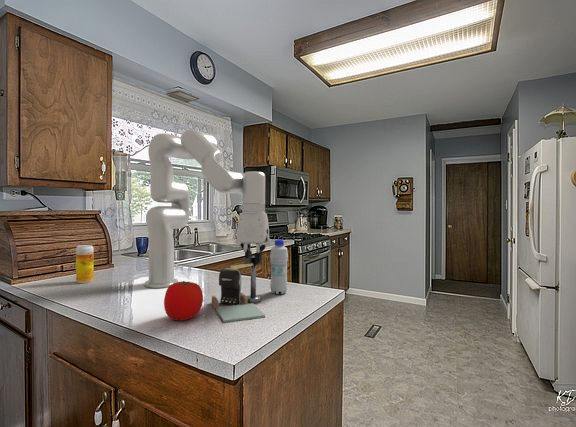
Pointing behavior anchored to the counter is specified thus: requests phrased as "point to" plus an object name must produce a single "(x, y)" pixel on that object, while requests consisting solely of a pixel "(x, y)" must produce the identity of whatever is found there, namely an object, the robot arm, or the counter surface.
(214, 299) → the holder
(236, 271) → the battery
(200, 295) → the tomato
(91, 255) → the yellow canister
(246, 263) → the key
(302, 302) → the counter surface
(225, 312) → the mat
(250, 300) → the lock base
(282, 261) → the bottle
